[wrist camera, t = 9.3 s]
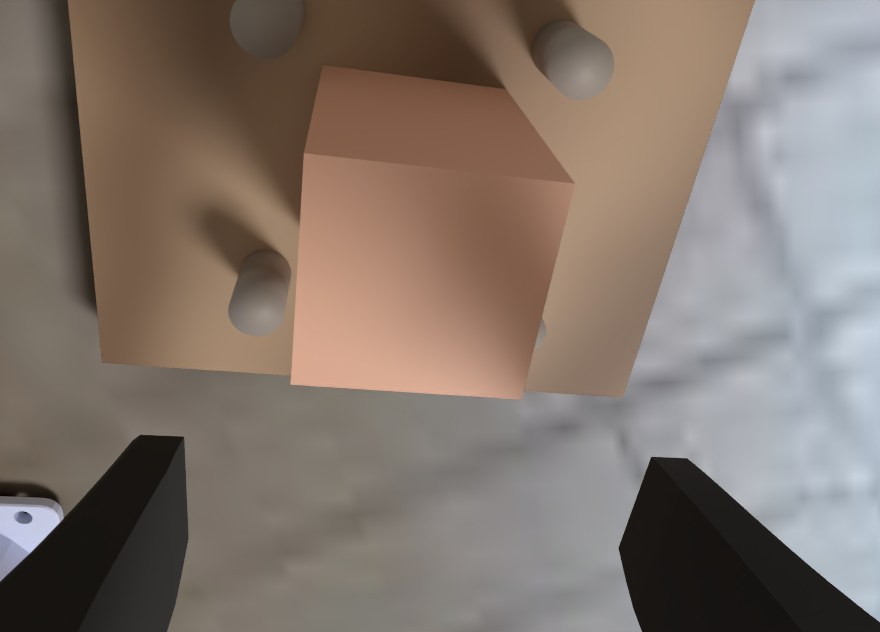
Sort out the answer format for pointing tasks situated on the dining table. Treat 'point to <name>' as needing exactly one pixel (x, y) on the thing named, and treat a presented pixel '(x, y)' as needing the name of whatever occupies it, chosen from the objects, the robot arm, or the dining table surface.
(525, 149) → the pink block
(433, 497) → the dining table surface
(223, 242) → the peg stand
